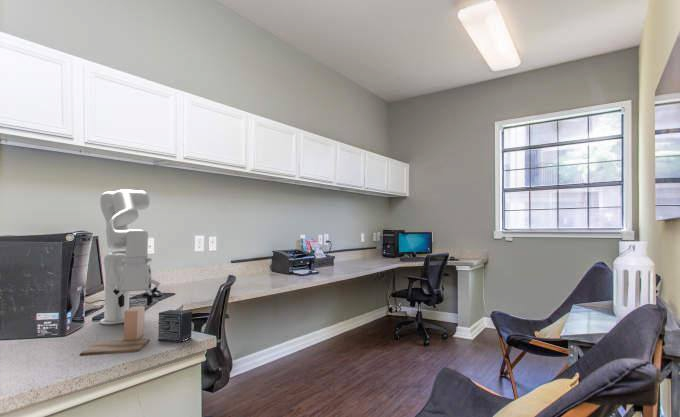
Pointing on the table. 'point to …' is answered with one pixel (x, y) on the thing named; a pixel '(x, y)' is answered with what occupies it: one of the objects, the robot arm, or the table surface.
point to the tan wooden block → (134, 323)
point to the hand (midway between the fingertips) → (135, 305)
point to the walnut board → (115, 346)
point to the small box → (174, 325)
